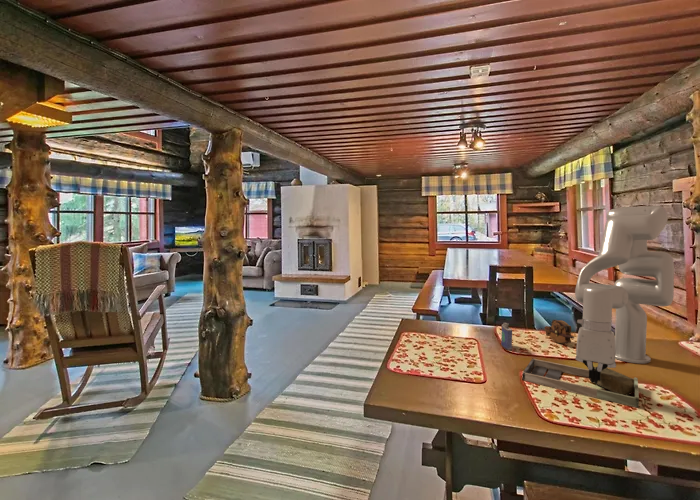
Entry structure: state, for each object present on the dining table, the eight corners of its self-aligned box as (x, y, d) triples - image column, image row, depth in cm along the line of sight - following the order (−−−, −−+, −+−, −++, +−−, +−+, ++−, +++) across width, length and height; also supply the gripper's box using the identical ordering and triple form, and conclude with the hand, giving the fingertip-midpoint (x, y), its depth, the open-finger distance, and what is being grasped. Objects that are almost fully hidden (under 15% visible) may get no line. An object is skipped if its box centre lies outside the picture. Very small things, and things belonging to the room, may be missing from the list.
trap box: (532, 364, 131) (532, 357, 131) (637, 387, 112) (637, 378, 112) (522, 379, 118) (522, 371, 118) (638, 407, 99) (638, 397, 99)
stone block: (600, 378, 118) (601, 364, 117) (636, 395, 107) (637, 379, 106) (587, 380, 116) (588, 366, 116) (622, 397, 105) (623, 381, 105)
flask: (512, 350, 146) (513, 325, 145) (505, 350, 147) (505, 325, 146) (506, 343, 155) (506, 320, 155) (499, 343, 156) (499, 320, 155)
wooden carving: (540, 337, 164) (540, 316, 163) (549, 336, 164) (549, 315, 164) (568, 349, 147) (568, 326, 147) (577, 348, 148) (578, 325, 148)
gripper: (567, 323, 113) (565, 379, 113) (626, 332, 103) (623, 392, 104) (570, 319, 118) (569, 372, 119) (626, 327, 109) (624, 384, 110)
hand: (594, 381), depth 112 cm, fingers closed
